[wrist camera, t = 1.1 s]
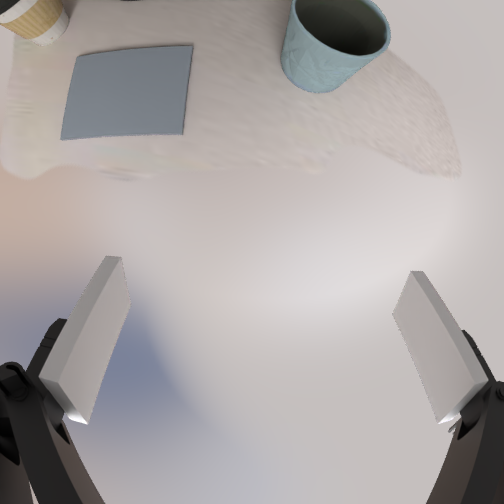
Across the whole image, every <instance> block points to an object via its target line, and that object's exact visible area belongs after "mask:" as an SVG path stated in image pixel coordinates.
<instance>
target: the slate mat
mask: <svg viewBox="0 0 504 504" xmlns="http://www.w3.org/2000/svg"><path fill="white" fill-rule="evenodd" d="M192 52H193V46H169V47H151V48H138V49H127V50H118V51H110V52H103V53H97V54H90V55H85V56H79V57H77V59H76V63H75V67H74V70H73V75H72V79H71V83H70V87H69V92H68V97H67V102H66V107H65V113H64V118H63V124H62V131H61V138H60V140H72V139H83V138H96V137H111V136H133V135H183V126H184V116H185V106H186V97H187V89H188V81H189V73H190V66H191V59H192Z"/></svg>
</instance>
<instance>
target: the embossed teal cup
mask: <svg viewBox="0 0 504 504" xmlns="http://www.w3.org/2000/svg"><path fill="white" fill-rule="evenodd" d="M390 38H391V32H390V27H389V24H388V21H387V19H386V17H385V16H384V14H383V13H382V11H381V10H380V9H379V8H378V7H377V5H375V3H374V2H372V1H370V0H292V4H291V10H290V15H289V21H288V27H287V30H286V35H285V39H284V45H283V50H282V55H281V64H282V69H283V71H284V73H285V75H286V76H287V78H288V79H289V80H290V81H291V82H292V83H293V84H294V85H296V86H297V87H299V88H301V89H303V90H306V91H308V92H314V93H325V92H330V91H332V90H335V89H336V88H338V87H339V86H340V85H341V84H343V83H344V82H345V81H346V79H348V78H350V77H351V76H352V75H353V74H355V73H356V72H357V71H359V70H360V69H361V67H364V66H365V65H367V64H368V63H369V62H370V61H372V60H373V59H375V58H376V57H377V56H379V55H380V54H382V53H383V52H384V51H385V50H386V49H387V48H388V46H389V43H390Z"/></svg>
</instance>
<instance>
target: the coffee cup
mask: <svg viewBox="0 0 504 504" xmlns="http://www.w3.org/2000/svg"><path fill="white" fill-rule="evenodd" d="M68 24H69V18H68V16H67V14H66V12H65V10H64V8H63V4H62V2H61V0H0V25H2V26H4V27H5V28H7V29H9V30H11V31H13V32H14V33H16V34H18V35H20V36H22V37H23V38H25V39H29V40H31V41H32V42H34V43H36V44H37V45H39V46H46V45H49V44H51V43H53V42H54V41H56V40H57V39H58V38H59V37H60V36H61V35H62V34H63V33H64V32H65V30H66V28H67V26H68Z"/></svg>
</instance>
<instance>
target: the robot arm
mask: <svg viewBox="0 0 504 504" xmlns="http://www.w3.org/2000/svg"><path fill="white" fill-rule="evenodd" d="M123 1H137V0H123ZM130 306H131V301H130V297H129V292H128V288H127V283H126V279H125V273H124V268H123V263H122V258H121V257H115V256H106V257H105V258H104V260H103V261H102V263H101V265H100V266H99V268H98V269H97V271H96V273H95V274H94V276H93V277H92V279H91V280H90V282H89V284H88V285H87V287H86V289H85V290H84V292H83V294H82V296H81V297H80V299H79V301H78V302H77V304H76V306H75V307H74V309H73V311H72V313H71V314H70V317H69V318H68V320H67V319H61V318H59V319H58V320H57V321H55V322H54V323H53V324H52V325H51V326H50V327H49V329H48V331H47V332H46V334H45V336H44V339H43V340H42V342H41V343H40V347H38V349H37V351H36V352H35V355H34V356H33V358H32V360H31V362H30V364H29V366H28V368H27V370H26V372H25V370H24V369H23V367H22V366H21V365H20V364H18V363H17V362H7V363H4V364H3V365H1V366H0V504H33V500H32V494H31V489H30V484H31V486H32V489H33V491H34V493H35V496H36V498H37V501H38V503H39V504H105V503H104V501H103V499H102V498H101V496H100V494H99V493H98V491H97V489H96V487H95V485H94V484H93V482H92V480H91V478H90V476H89V474H88V473H87V471H86V469H85V467H84V465H83V463H82V461H81V459H80V457H79V455H78V453H77V450H76V448H75V446H74V444H73V442H72V440H71V438H70V435H69V433H68V430H67V428H66V426H65V423H64V422H63V420H62V418H63V415H64V412H65V413H66V415H67V416H68V417H69V418H70V419H71V420H74V421H78V422H81V423H85V424H88V423H89V420H90V417H91V414H92V410H93V407H94V404H95V401H96V398H97V395H98V392H99V389H100V386H101V383H102V380H103V377H104V374H105V371H106V369H107V366H108V363H109V360H110V358H111V355H112V352H113V349H114V347H115V344H116V341H117V339H118V336H119V334H120V331H121V329H122V326H123V324H124V321H125V319H126V316H127V314H128V311H129V308H130ZM393 317H394V319H395V321H396V323H397V325H398V327H399V330H400V331H401V334H402V336H403V338H404V340H405V343H406V345H407V347H408V350H409V352H410V354H411V356H412V359H413V361H414V363H415V366H416V368H417V371H418V373H419V376H420V378H421V381H422V383H423V385H424V388H425V391H426V393H427V396H428V398H429V401H430V403H431V406H432V409H433V411H434V414H435V417H436V420H437V423H442V422H446V421H450V420H452V419H453V418H454V417H455V416H456V415H457V414H458V413H459V412H460V415H461V418H460V419H459V420H458V421H457V422H456V423H455V424H454V425H453V426H452V427H451V428H450V429H449V431H448V432H451V431H452V430H453V429H454V428H456V429H455V432H454V433H453V434H454V435H453V438H452V441H451V444H450V447H449V450H448V453H447V455H446V458H445V461H444V463H443V466H442V469H441V471H440V473H439V476H438V478H437V481H436V483H435V485H434V488H433V490H432V492H431V494H430V496H429V499H428V500H427V503H426V504H504V382H501V381H498V382H497V381H496V380H495V378H494V376H493V374H492V372H491V370H490V369H489V367H488V365H487V363H486V361H485V359H484V358H483V356H481V353H480V351H479V349H478V348H477V345H476V343H475V342H474V340H473V338H472V337H471V336H470V335H469V334H468V333H467V332H466V331H465V330H461V329H460V327H459V326H458V324H457V322H456V321H455V319H454V318H453V316H452V315H451V313H450V311H449V310H448V308H447V307H446V305H445V303H444V302H443V300H442V299H441V297H440V296H439V294H438V293H437V291H436V290H435V288H434V287H433V285H432V284H431V282H430V281H429V279H428V278H427V276H426V275H425V273H424V272H423V271H410V274H409V276H408V279H407V281H406V284H405V286H404V289H403V291H402V293H401V296H400V298H399V300H398V303H397V305H396V307H395V309H394V312H393ZM29 481H30V484H29Z"/></svg>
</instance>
